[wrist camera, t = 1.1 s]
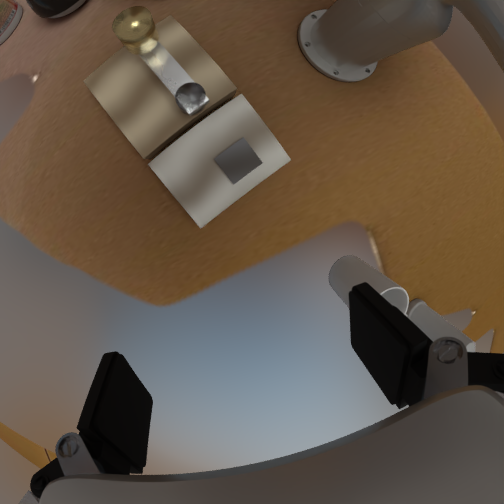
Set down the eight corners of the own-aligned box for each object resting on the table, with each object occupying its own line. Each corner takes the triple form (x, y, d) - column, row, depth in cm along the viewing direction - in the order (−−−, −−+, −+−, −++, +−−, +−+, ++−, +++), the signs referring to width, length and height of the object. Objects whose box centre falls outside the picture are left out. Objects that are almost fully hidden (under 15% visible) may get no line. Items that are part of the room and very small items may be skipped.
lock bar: (213, 102, 26) (215, 82, 19) (186, 122, 26) (179, 108, 19) (152, 33, 22) (139, 0, 14) (127, 51, 22) (106, 23, 14)
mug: (318, 283, 41) (355, 327, 29) (341, 246, 39) (387, 278, 28) (362, 304, 43) (400, 344, 32) (383, 271, 42) (428, 304, 31)
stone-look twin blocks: (95, 88, 26) (81, 80, 22) (173, 28, 25) (170, 12, 21) (201, 220, 35) (200, 229, 30) (281, 159, 34) (292, 160, 29)
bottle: (418, 317, 48) (495, 389, 24) (400, 322, 47) (479, 402, 24) (424, 295, 46) (510, 365, 23) (406, 299, 45) (495, 377, 22)
